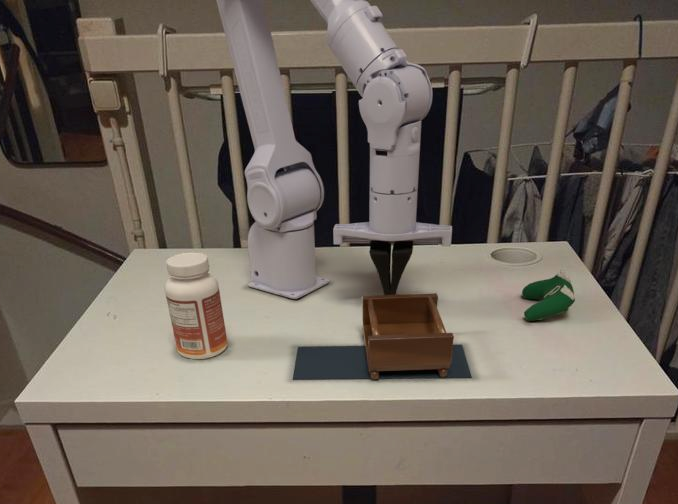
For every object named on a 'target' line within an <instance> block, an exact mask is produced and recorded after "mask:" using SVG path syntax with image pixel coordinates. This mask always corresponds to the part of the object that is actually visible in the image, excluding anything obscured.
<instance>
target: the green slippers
mask: <svg viewBox="0 0 678 504" xmlns="http://www.w3.org/2000/svg"><path fill="white" fill-rule="evenodd" d="M521 295H522V297H523V298H524V299H526V300H527V299H528V300H540V301H537V302H535V303H534V304H532V305H530V306H529V307H528V308H527V309H526V310H525V311H524V313H523V316H524V317H525V320H526V321H527V322H532V321H542V320H544V319H548V318H552V317H554V316H557V315H559V314H561V313H566V312H567V311H568V310H569V308H570V307H571V306H572V305H573V304H574V303H575V302H576V295H575V291H574V287H573V285H572V281H571V279H570V277H569V276H568V275H567V274H566V272H564V271H563V270H562V269H560V270H559V272H558V273H557V274H555V275H554V276H553V277H549V278H546V279H541V280H536V281H533V282H531V283H528V284H527V285H526V286H524V287H523V289H522V290H521Z"/></svg>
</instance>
